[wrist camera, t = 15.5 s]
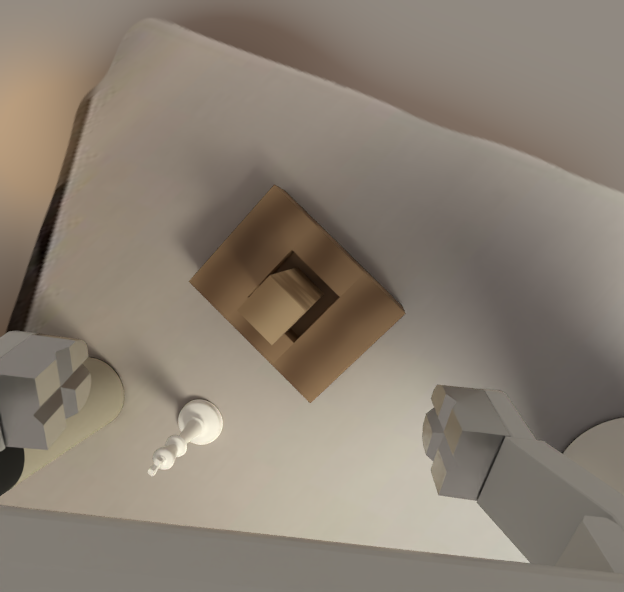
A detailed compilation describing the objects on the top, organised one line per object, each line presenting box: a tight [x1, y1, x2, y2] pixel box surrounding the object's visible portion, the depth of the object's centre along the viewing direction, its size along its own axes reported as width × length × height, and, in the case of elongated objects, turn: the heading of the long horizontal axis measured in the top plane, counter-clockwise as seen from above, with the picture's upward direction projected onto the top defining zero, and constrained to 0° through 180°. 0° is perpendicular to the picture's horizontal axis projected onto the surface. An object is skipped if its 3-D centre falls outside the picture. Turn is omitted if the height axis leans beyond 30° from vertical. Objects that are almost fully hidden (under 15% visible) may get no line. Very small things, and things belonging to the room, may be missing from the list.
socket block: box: [189, 185, 405, 403], centre depth 38 cm, size 16×12×4 cm
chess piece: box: [148, 399, 223, 477], centre depth 39 cm, size 5×5×10 cm
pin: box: [237, 267, 324, 345], centre depth 34 cm, size 4×4×10 cm
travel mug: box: [0, 358, 124, 496], centre depth 37 cm, size 8×8×18 cm
